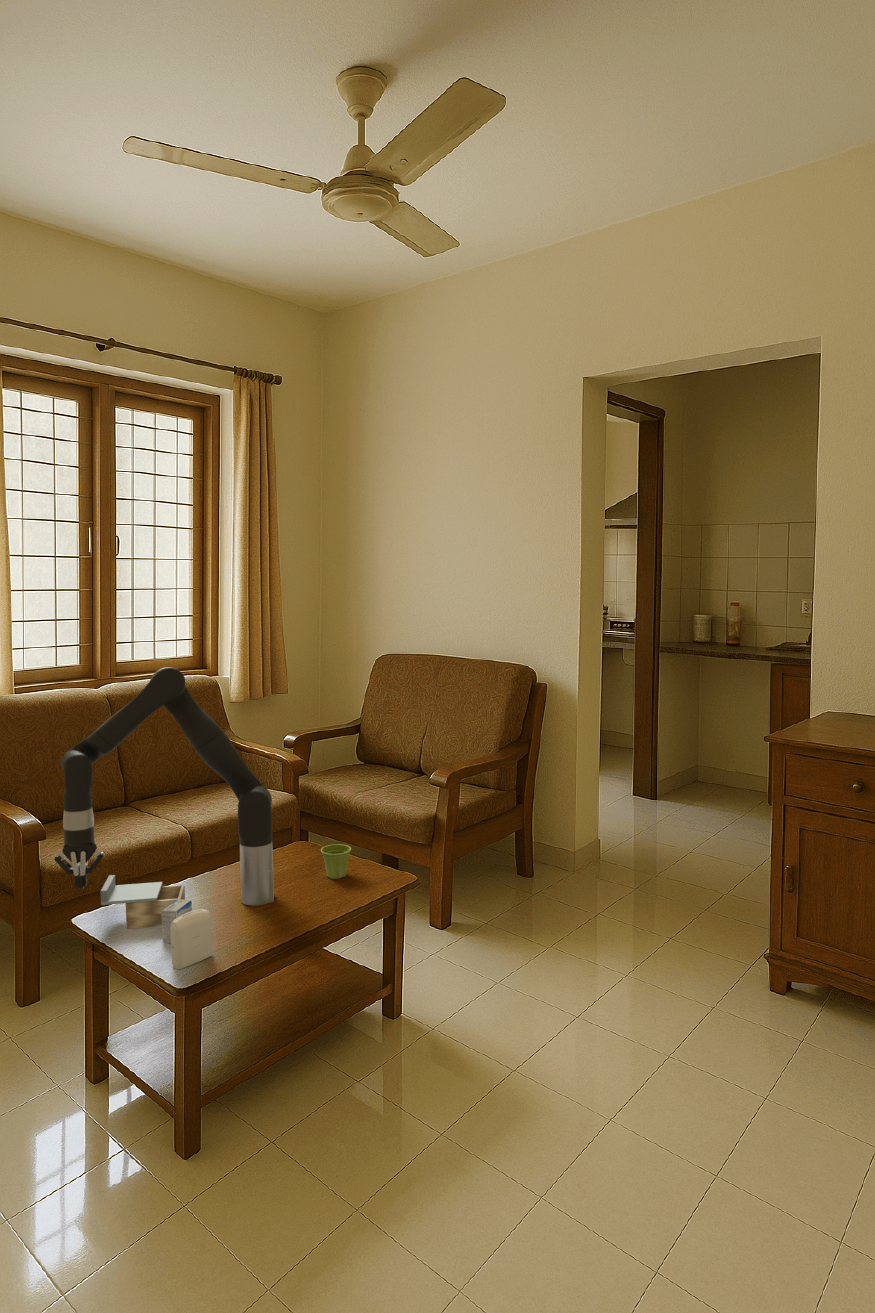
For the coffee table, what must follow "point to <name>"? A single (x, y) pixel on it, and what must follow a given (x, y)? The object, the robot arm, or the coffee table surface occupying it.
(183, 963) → the photo printer
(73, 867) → the robot arm
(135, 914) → the wooden box
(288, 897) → the coffee table surface
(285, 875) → the coffee table surface
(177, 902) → the medicine box
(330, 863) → the plant pot
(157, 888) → the lid
